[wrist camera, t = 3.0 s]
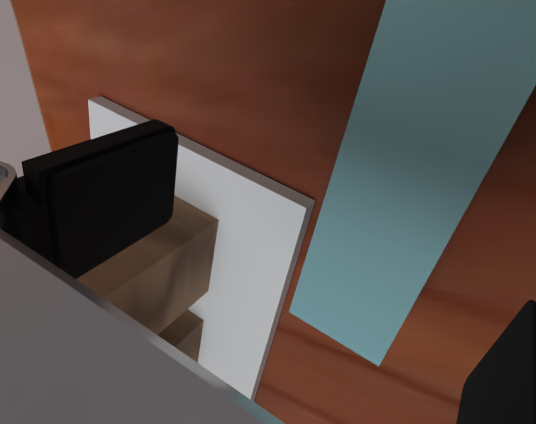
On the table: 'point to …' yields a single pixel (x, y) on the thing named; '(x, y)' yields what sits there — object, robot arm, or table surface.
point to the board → (233, 250)
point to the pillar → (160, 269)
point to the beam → (413, 159)
